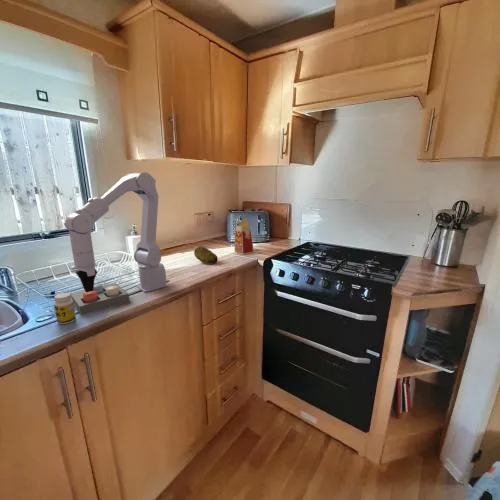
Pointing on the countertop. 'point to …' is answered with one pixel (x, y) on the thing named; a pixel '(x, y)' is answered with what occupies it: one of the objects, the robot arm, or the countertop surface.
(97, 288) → the button slate
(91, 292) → the button red
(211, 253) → the olive green oval lump
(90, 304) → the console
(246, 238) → the milk carton
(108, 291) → the button ivory
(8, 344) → the countertop surface
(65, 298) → the supplement bottle
